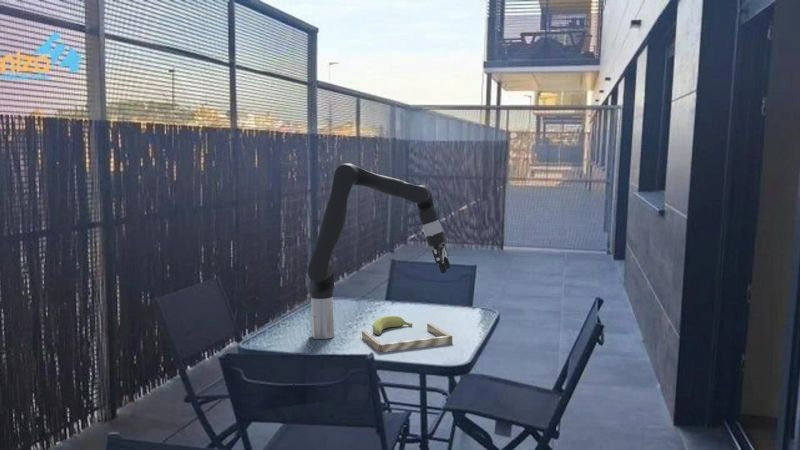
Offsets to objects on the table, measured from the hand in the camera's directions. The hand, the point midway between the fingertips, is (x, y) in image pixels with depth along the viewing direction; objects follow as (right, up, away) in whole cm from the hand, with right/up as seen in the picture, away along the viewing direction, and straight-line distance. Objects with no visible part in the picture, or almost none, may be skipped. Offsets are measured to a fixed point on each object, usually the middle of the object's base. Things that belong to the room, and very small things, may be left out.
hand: (446, 270), depth 282 cm
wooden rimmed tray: (-16, -29, +5) cm, 34 cm away
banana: (-22, -28, +22) cm, 42 cm away
